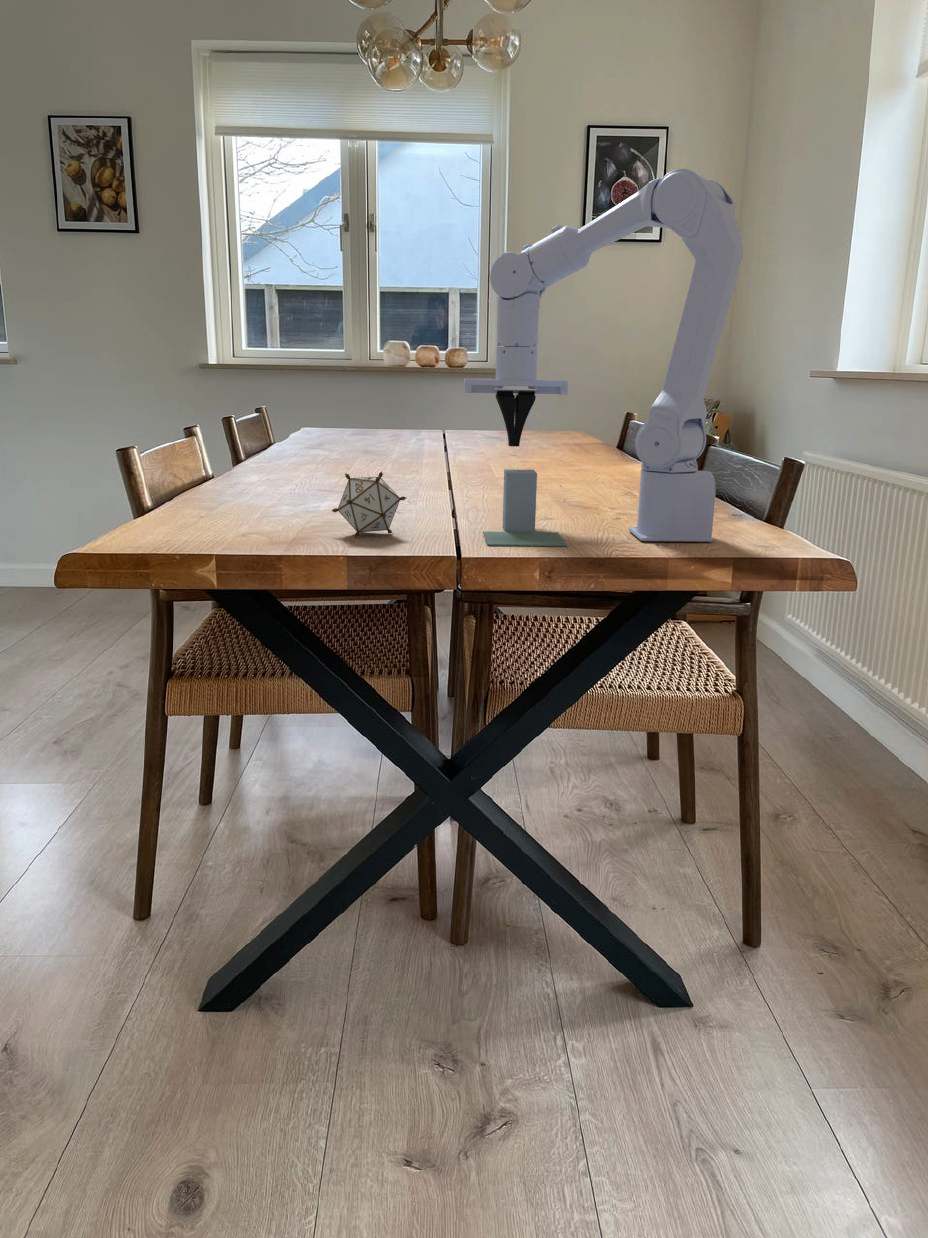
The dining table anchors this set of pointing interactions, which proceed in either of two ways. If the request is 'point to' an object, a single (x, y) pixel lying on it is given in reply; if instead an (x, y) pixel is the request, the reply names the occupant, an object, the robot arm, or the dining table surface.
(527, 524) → the slate-blue block
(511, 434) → the robot arm
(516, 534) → the felt mat
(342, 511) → the game die
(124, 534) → the dining table surface
